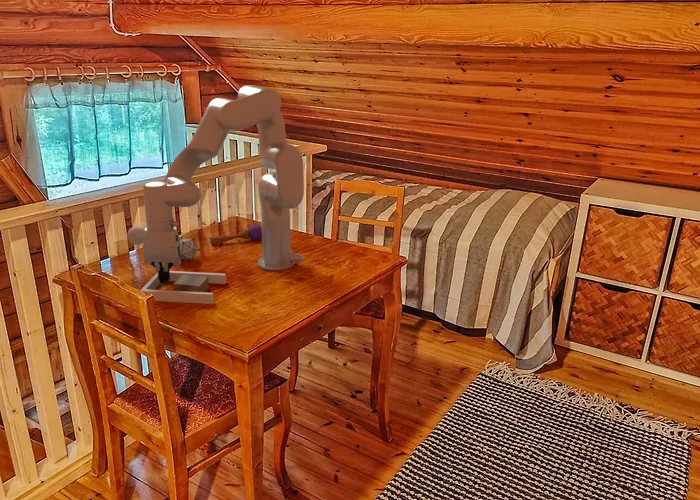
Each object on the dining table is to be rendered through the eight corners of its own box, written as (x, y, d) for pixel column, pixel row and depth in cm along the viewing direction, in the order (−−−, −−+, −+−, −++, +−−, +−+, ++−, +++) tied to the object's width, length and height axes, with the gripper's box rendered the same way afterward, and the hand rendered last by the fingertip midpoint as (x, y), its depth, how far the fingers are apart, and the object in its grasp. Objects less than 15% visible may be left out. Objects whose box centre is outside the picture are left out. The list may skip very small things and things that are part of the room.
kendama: (207, 232, 212) (259, 222, 220) (210, 248, 213) (261, 237, 221) (211, 234, 207) (264, 224, 214) (214, 250, 208) (266, 239, 216)
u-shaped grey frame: (226, 282, 179) (225, 273, 178) (212, 303, 165) (212, 294, 164) (160, 279, 180) (159, 270, 179) (140, 300, 166) (139, 290, 165)
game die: (188, 271, 196) (179, 256, 187) (173, 258, 199) (164, 242, 191) (208, 255, 199) (200, 239, 191) (193, 242, 202) (185, 226, 194)
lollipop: (127, 269, 186) (122, 226, 181) (144, 265, 190) (139, 222, 185) (137, 275, 182) (132, 231, 177) (153, 270, 187) (149, 227, 181)
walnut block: (208, 288, 175) (208, 276, 174) (200, 298, 169) (199, 286, 168) (184, 286, 176) (183, 274, 175) (174, 295, 170) (173, 283, 168)
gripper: (189, 222, 169) (192, 278, 175) (139, 219, 169) (145, 275, 176) (180, 229, 162) (184, 288, 168) (129, 227, 162) (135, 285, 168)
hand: (164, 282), depth 172 cm, fingers closed
